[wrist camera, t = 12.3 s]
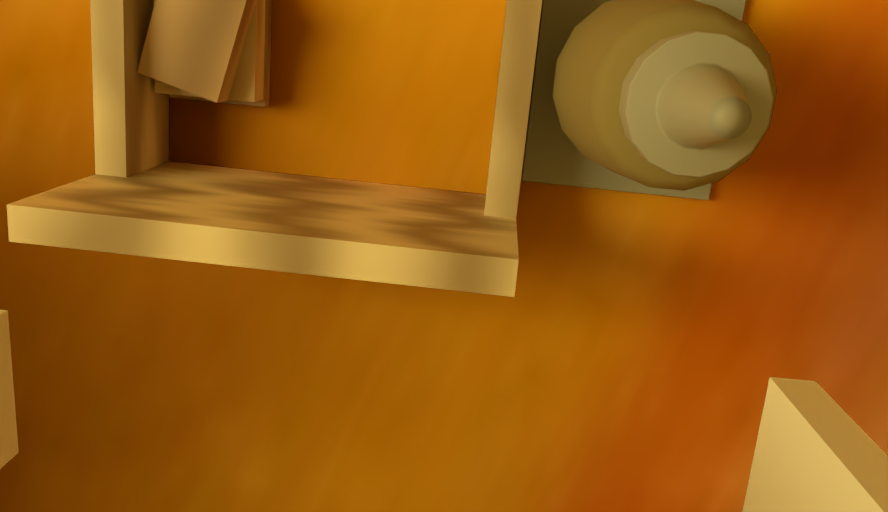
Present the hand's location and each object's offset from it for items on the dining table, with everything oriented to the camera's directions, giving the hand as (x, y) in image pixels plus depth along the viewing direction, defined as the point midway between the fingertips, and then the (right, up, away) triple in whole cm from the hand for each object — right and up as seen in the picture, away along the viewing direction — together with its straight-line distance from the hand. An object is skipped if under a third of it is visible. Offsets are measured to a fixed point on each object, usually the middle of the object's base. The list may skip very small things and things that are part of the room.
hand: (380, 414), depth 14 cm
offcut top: (-11, +13, +25) cm, 30 cm away
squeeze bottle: (+10, +11, +26) cm, 30 cm away
